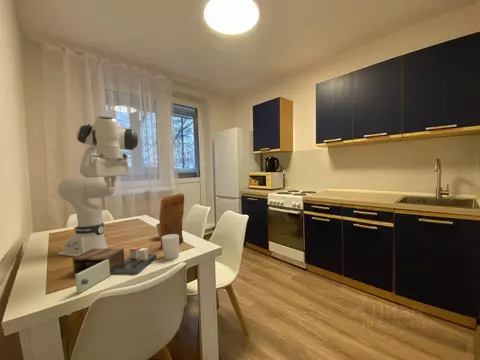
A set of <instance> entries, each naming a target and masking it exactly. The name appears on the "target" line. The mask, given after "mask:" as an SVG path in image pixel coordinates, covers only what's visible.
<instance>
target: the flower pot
mask: <svg viewBox="0 0 480 360" xmlns="http://www.w3.org/2000/svg"><path fill="white" fill-rule="evenodd" d="M155 227H156V229H157V233H158V238H159V240H160V224H159V223H157V224H155Z"/></svg>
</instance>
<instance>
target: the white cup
mask: <svg viewBox="0 0 480 360" xmlns="http://www.w3.org/2000/svg"><path fill="white" fill-rule="evenodd" d="M162 245H163V249H162V251H163V258H164V260H175V259H177V258H178V257H179V256H180V254H179V253H180V244H179V235H178V234H169V235H165V236H163V237H162Z"/></svg>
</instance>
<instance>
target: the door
mask: <svg viewBox="0 0 480 360" xmlns="http://www.w3.org/2000/svg"><path fill="white" fill-rule="evenodd" d="M74 276H75V285H76V286H75V288H76V293H77V294H81V293H82V292H83V291H85V290H87V289H89V288H91V287H92V286H94V285H96V284H98V283H100V282H101V281H103V280H105V279H106V278H108V277H111V274H110V267H109V260H105V261H103V262H101V263H98V264H96V265H94V266H92V267H90V268H88V269H86V270H84V271H82V272H80V273H78V274H76V275H74Z"/></svg>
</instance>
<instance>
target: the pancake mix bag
mask: <svg viewBox="0 0 480 360" xmlns="http://www.w3.org/2000/svg"><path fill="white" fill-rule="evenodd" d="M184 207H185V194H184V193H183V192H182V193H178V194H173V195H168V196H164V197H162V199H161V200H160V209H159V223H158V224H160V239H159V240H160V250H163V245H162V237H163V236H165V235H169V234H178V235H179V245H180V244H182V243H184V236H183V218H184V214H185V211H184V210H185V208H184Z"/></svg>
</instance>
